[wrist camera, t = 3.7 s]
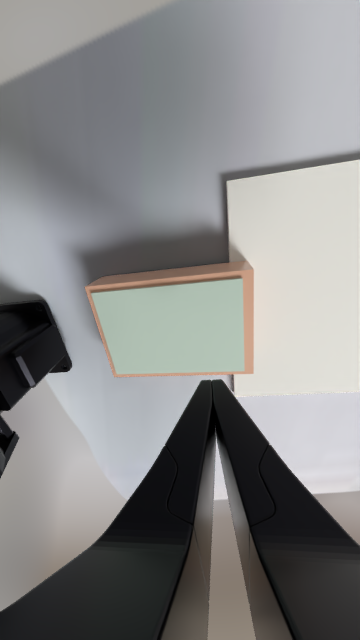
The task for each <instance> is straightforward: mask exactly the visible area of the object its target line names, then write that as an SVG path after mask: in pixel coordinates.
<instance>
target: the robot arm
mask: <svg viewBox="0 0 360 640" xmlns="http://www.w3.org/2000/svg"><path fill="white" fill-rule="evenodd" d="M39 305H40V306H41V307H42V309H41V308H40V307H39ZM71 368H72V363H71V360H70V358H69V356H68V353H67V351H66V348H65V346H64V343H63V341H62V338H61V336H60V333H59V331H58V329H57V326H56V324H55V321H54V319H53V316H52V314H51V311H50V309H49V306H48V304H47V303H46V302H45V301H43V300H35V301H26V302H16V303H7V304H0V414H1V413H2V412H3V411H8V410H10V409H11V408H13V406H14V405H15V404H16V403H17V402H18V401H19V400H20V399H21V398H22V397H23V396H24V395H25V394H26V393H27V392H28V391H29V390H30V389H31V388H34V387H36V385H37V384H38V383H39V382H40V381H41V380H42V379H43V378H44V377H45V376H46V375H47V374H48V373H58V372H68V371H69V370H70V369H71ZM215 428H216V429H215ZM216 437H217V443H218V449H219V454H220V459H221V464H222V469H223V474H224V479H225V484H226V489H227V494H228V499H229V504H230V509H231V515H232V520H233V525H234V529H235V535H236V539H237V545H238V550H239V554H240V560H241V565H242V570H243V575H244V580H245V586H246V590H247V596H248V600H249V604H250V611H251V616H252V621H253V626H254V631H255V636H256V640H360V545H359V544H358V543H357V542H356V541H355V540H353V538H352V537H351V536H350V535H349V534H348V533H347V532H346V531H345V530H344V529H343V528H342V527H341V526H340V525H339V523H338V522H337V521H336V520H335V519H334V518H333V517H332V516H331V515H330V514H329V513H328V511H327V510H326V509H325V508H324V507H323V506H322V505H321V504H320V503H319V502H318V500H317V499H316V498H315V497H314V496H313V495H312V494H311V493H310V492H309V491H308V490H307V488H306V487H305V486H304V485H303V484H302V483H301V482H300V481H299V479H298V478H297V477H296V476H295V475H294V474H293V473H292V471H291V470H290V469H289V468H288V467H287V465H286V464H285V463H284V462H283V460H282V459H281V458H280V456H279V455H278V454H277V453H276V451H275V450H274V448H273V447H272V446H271V445H269V442H268V441H267V439H266V438H265V437H264V435H263V434H262V433H261V431H260V430H259V429H258V427H257V426H256V425H255V423H254V422H253V420H252V419H251V418H250V416H249V415H248V414H247V412H246V411H245V410H244V408H243V407H242V406H241V404H240V403H239V402H238V400H237V399H236V398H235V396H234V395H233V394H232V392H231V391H230V390H229V388H228V387H227V386H226V384H225V383H224V382H223V380H221V379H219V380H212V381H211V380H202V381H201V382H200V384H199V386H198V387H197V389H196V391H195V393H194V394H193V396H192V398H191V400H190V401H189V403H188V405H187V407H186V408H185V410H184V412H183V414H182V415H181V417H180V419H179V421H178V422H177V424H176V426H175V428H174V430H173V431H172V433H171V435H170V437H169V438H168V440H167V442H166V444H165V446H164V447H163V449H162V450H161V452H160V454H159V456H158V457H157V459H156V461H155V462H154V464H153V466H152V467H151V469H150V470H149V472H148V473H147V475H146V476H145V478H144V479H143V480H142V482H141V483H140V485H139V486H138V487H137V489H136V490H135V492H134V493H133V494H132V496H131V497H130V499H129V500H128V501H127V503H126V504H125V505H124V507H123V508H122V510H121V511H120V512H119V514H118V515H117V516H116V518H115V519H114V521H113V522H112V523H111V525H110V526H109V527H108V529H107V530H106V531H105V532H104V533H103V534H102V536H101V537H100V538H99V539H98V540H97V541H96V542H95V543H94V544H92V545H91V546H90V547H89V548H88V549H87V550H85V551H84V552H82V553H81V554H80V555H78V556H77V557H76V558H74V559H73V560H72V561H70V562H69V563H67V564H66V565H65V566H63V567H62V568H61V569H59V570H58V571H57V572H55V573H54V574H52V576H50V577H48V578H47V579H46V580H44V581H43V582H42V583H40V584H39V585H38V586H36V587H35V588H33V589H32V590H31V591H29V592H28V593H27V594H25V595H24V596H23V597H21V598H20V599H19V600H17V601H16V602H14V603H13V604H11V605H10V606H8V607H7V608H5V609H4V610H2V611H0V640H207V637H208V614H209V591H210V567H211V543H212V520H213V499H214V476H215V453H216ZM18 439H19V437H18V435H17V434H16V432H14V431H12V430H11V429H10V427H9V426H8V424H7V423H6V421H5V420H4V419H3V417H2V416H1V415H0V478H1V476H2V474H3V471H4V469H5V467H6V465H7V463H8V461H9V459H10V456H11V454H12V452H13V450H14V448H15V446H16V444H17V442H18Z"/></svg>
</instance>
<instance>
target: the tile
mask: <svg viewBox="0 0 360 640" xmlns="http://www.w3.org/2000/svg"><path fill="white" fill-rule="evenodd" d="M85 290H86V293H87V296H88V299H89V302H90V305H91V308H92V311H93V314H94V317H95V320H96V323H97V326H98V329H99V332H100V335H101V338H102V342H103V345H104V348H105V351H106V354H107V357H108V360H109V363H110V366H111V369H112V372H113V375H114V377H139V376H183V375H228V374H254V269H253V268H252V266H251V265H250V263H249V262H248V261H238V262H229V263H220V264H211V265H202V266H193V267H184V268H175V269H166V270H157V271H148V272H139V273H130V274H121V275H112V276H103V277H101V278H99V279H97V280H96V281H94V282H92V283H90V284H89V285H87V286H85Z"/></svg>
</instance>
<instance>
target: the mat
mask: <svg viewBox="0 0 360 640" xmlns="http://www.w3.org/2000/svg"><path fill="white" fill-rule="evenodd" d="M226 190H227V217H228V244H229V262H238V261H248V262H249V263H250V265H251V266H252V268H253V269H254V374H233V379H234V395H235V397H248V396H273V395H298V394H322V393H347V392H360V160H354V161H347V162H341V163H335V164H329V165H323V166H316V167H310V168H304V169H298V170H292V171H285V172H279V173H273V174H267V175H261V176H254V177H248V178H242V179H236V180H230V181H227V182H226Z"/></svg>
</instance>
